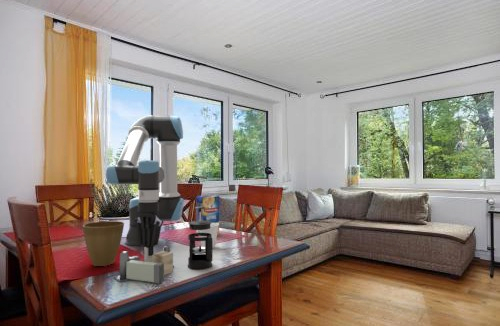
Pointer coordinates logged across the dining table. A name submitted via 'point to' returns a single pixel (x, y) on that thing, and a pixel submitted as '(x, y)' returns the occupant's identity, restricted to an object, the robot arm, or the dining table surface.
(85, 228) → the plant pot
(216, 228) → the cup
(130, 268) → the gate
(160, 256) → the block
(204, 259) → the french press
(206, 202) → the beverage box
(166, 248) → the post
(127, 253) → the metal knob post
